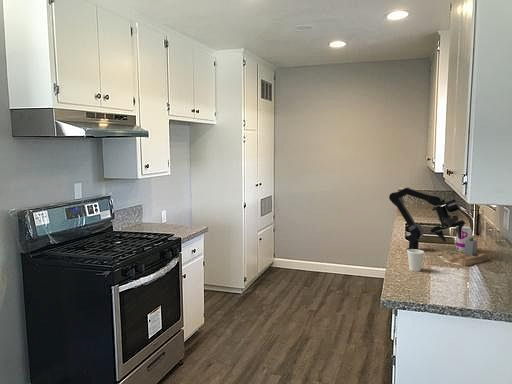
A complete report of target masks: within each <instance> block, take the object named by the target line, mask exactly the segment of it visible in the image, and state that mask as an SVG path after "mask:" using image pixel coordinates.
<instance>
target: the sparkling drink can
mask: <svg viewBox="0 0 512 384" xmlns="http://www.w3.org/2000/svg"><path fill="white" fill-rule="evenodd" d="M472 231H473V230H472V228H471V227H470V226H465V225H464V226H463V227H462V229H461V239H460V238H459V236H458V234H457V233H456V239H455V240H456V242H455V250H456V252H459V253H465V240H469V237H472V233H473V232H472Z"/></svg>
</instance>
